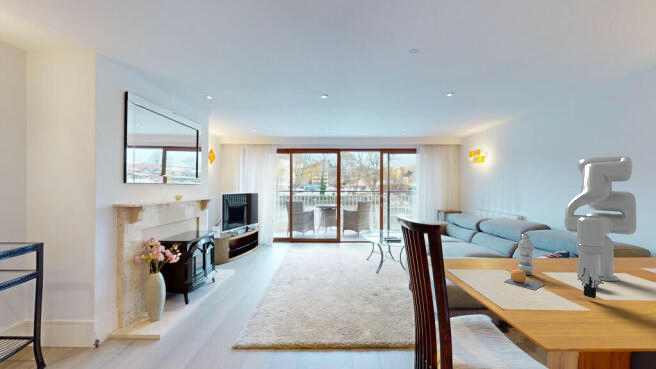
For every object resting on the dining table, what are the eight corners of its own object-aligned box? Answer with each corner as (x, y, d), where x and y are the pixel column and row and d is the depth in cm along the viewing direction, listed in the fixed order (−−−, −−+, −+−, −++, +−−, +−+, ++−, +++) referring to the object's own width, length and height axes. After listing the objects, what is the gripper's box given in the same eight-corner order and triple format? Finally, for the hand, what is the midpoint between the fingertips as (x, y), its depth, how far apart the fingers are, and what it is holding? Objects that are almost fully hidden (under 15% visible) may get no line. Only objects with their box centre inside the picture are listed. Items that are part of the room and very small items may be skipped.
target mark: (514, 277, 132) (514, 276, 132) (545, 284, 122) (545, 284, 122) (503, 281, 125) (503, 281, 125) (534, 290, 115) (534, 289, 115)
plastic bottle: (530, 272, 139) (530, 233, 139) (535, 277, 132) (536, 236, 132) (515, 271, 141) (516, 233, 141) (520, 275, 134) (520, 235, 134)
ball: (531, 276, 123) (520, 283, 126) (519, 265, 126) (509, 272, 129) (527, 279, 119) (516, 286, 122) (516, 267, 122) (505, 275, 125)
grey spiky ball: (596, 296, 118) (614, 283, 112) (575, 288, 120) (592, 274, 114) (587, 281, 125) (604, 267, 120) (568, 273, 127) (583, 259, 121)
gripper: (582, 245, 113) (582, 289, 112) (571, 249, 104) (571, 297, 104) (608, 249, 106) (608, 295, 106) (598, 254, 98) (598, 304, 98)
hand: (589, 296), depth 105 cm, fingers closed
